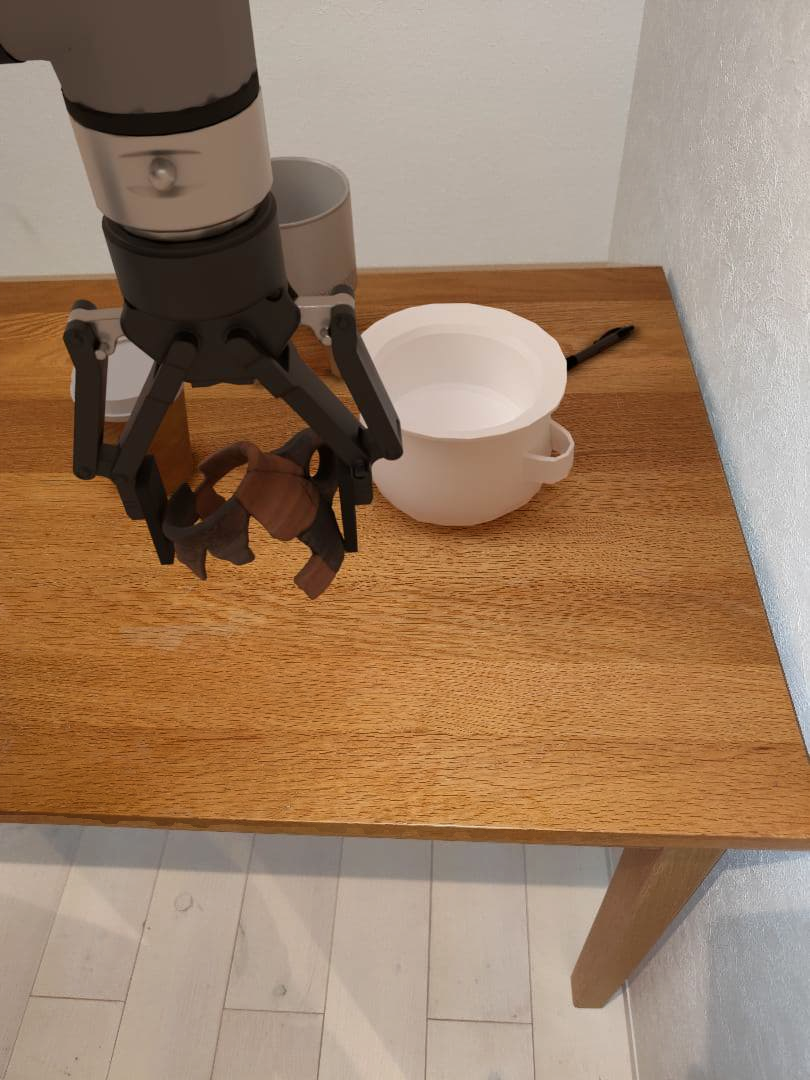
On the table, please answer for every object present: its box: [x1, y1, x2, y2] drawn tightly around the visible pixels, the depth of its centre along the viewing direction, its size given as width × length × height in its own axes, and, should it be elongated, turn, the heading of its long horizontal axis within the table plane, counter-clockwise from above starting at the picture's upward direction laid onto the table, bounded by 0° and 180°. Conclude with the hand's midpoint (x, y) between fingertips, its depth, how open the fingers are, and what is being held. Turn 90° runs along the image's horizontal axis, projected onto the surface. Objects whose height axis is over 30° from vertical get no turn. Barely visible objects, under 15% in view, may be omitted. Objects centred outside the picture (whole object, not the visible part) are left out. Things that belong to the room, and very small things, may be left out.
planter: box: [254, 156, 358, 385], centre depth 87 cm, size 13×13×18 cm
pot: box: [359, 302, 575, 527], centre depth 76 cm, size 22×17×12 cm
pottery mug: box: [162, 426, 346, 601], centre depth 53 cm, size 12×10×8 cm
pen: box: [565, 324, 636, 371], centre depth 91 cm, size 14×2×1 cm, turn 128°
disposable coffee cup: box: [69, 336, 194, 494], centre depth 78 cm, size 10×10×12 cm
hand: (260, 542), depth 55 cm, fingers closed on pottery mug, 10 cm apart
